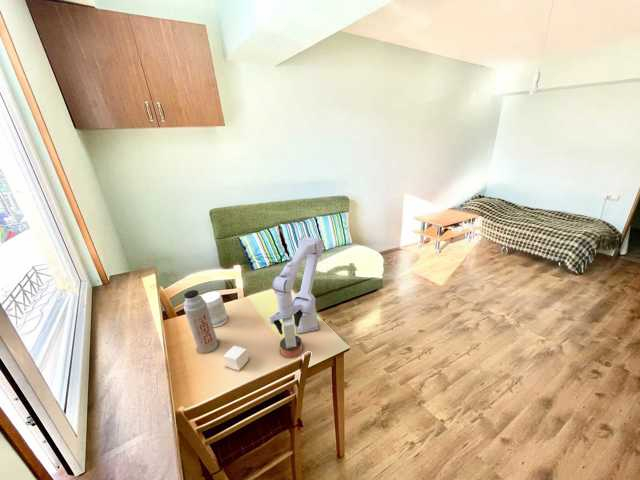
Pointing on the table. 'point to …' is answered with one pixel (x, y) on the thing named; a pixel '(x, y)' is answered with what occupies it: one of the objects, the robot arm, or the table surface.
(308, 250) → the robot arm
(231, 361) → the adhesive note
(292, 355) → the terracotta tin
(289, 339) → the cosmetic box
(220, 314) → the supplement tub
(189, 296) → the thermos bottle
